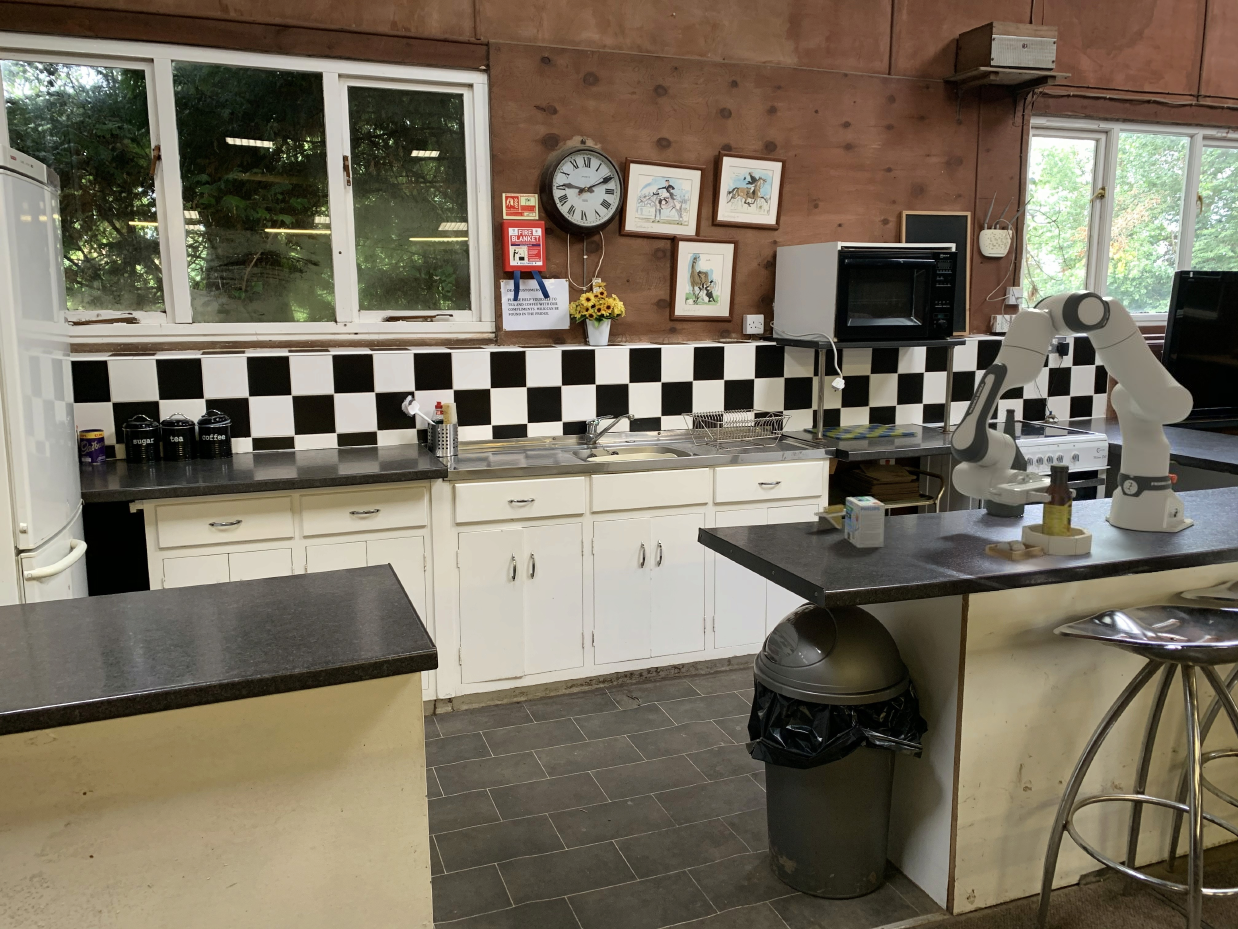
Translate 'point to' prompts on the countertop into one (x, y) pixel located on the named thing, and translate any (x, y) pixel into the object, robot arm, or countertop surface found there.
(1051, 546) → the bowl
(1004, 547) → the pebble
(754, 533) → the countertop surface
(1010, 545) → the pebble
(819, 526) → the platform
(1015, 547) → the pebble
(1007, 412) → the bottle
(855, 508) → the light bulb box
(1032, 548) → the pebble tray
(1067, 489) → the sauce bottle
